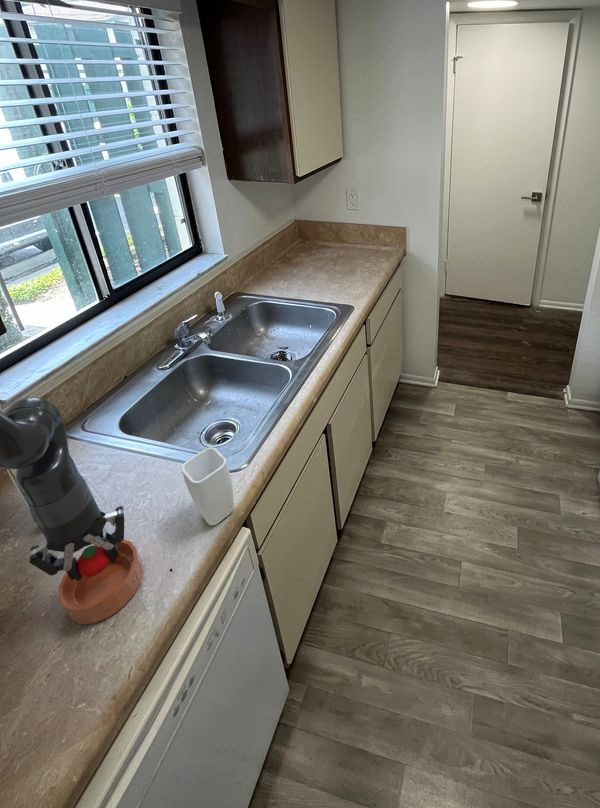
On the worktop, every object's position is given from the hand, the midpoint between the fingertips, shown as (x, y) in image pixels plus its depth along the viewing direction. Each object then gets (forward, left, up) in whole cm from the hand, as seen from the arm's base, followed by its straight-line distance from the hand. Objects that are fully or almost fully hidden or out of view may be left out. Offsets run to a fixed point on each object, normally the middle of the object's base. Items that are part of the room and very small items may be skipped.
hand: (96, 566), depth 79 cm
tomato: (0, 0, -1) cm, 1 cm away
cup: (+21, +4, -7) cm, 22 cm away
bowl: (0, 0, -6) cm, 6 cm away
